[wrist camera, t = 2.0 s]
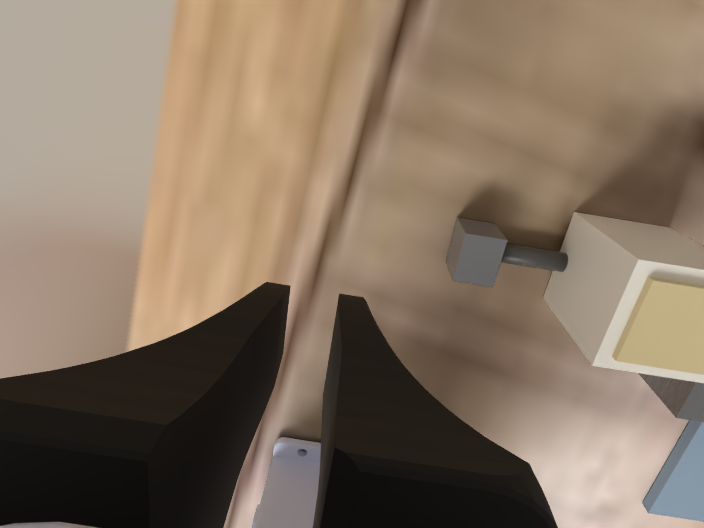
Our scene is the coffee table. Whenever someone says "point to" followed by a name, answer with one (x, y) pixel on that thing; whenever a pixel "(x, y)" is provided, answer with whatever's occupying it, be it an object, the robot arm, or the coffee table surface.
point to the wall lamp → (607, 289)
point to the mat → (681, 478)
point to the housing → (679, 396)
